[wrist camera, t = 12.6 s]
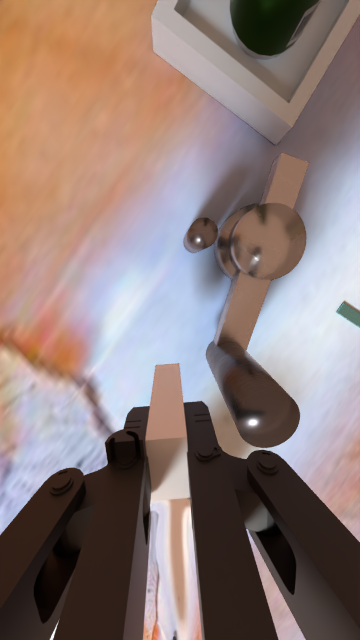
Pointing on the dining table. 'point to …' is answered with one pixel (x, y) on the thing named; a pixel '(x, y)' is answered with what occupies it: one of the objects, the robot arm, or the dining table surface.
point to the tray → (250, 59)
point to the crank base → (207, 233)
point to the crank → (259, 307)
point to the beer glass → (171, 574)
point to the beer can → (269, 24)
